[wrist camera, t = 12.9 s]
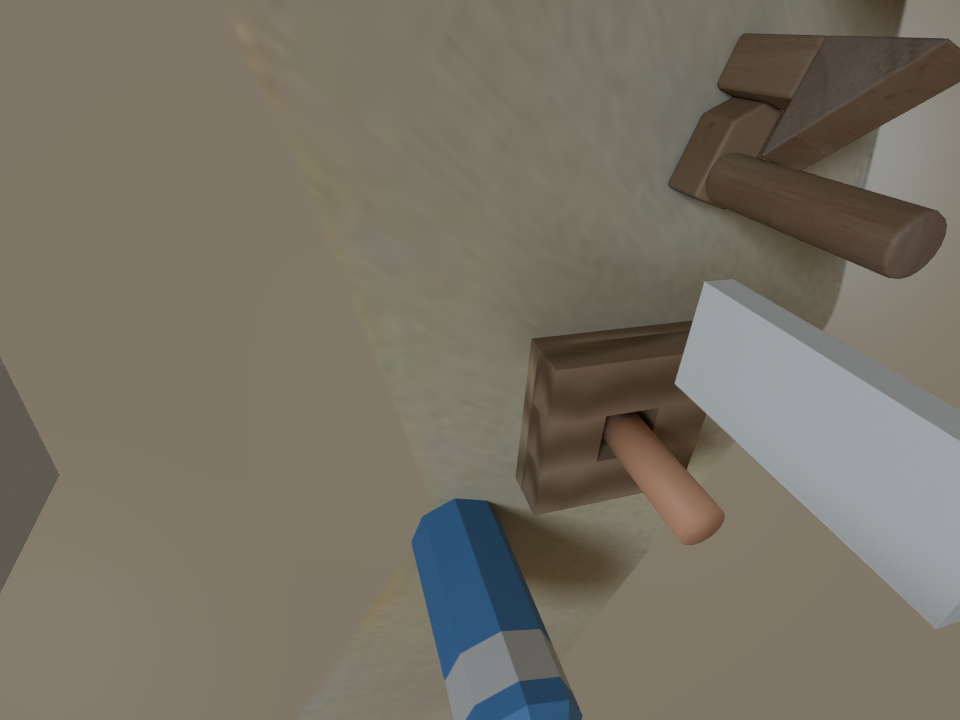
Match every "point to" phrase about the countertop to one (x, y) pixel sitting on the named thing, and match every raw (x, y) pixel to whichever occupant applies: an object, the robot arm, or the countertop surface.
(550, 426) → the socket block
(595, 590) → the countertop surface
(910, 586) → the robot arm
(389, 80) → the countertop surface
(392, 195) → the countertop surface
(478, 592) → the water bottle
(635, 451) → the pin
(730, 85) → the wooden block structure
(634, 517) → the countertop surface
